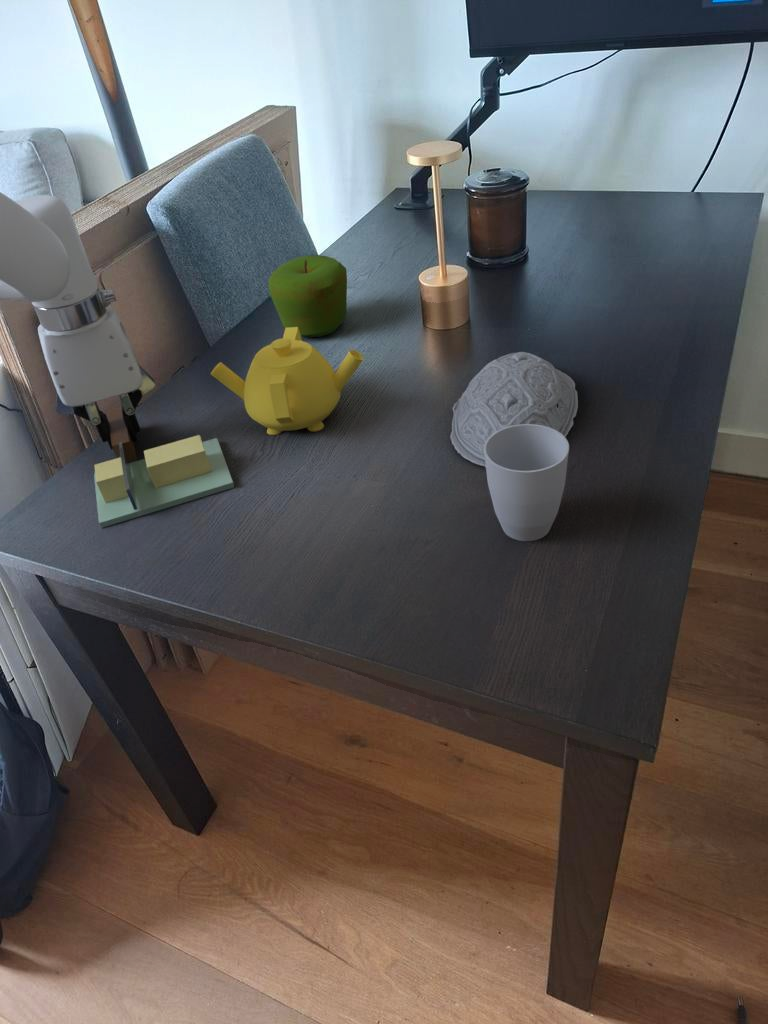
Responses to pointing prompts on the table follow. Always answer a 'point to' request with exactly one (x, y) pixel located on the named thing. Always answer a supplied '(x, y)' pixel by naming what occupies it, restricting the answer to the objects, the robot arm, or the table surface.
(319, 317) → the apple
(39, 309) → the robot arm
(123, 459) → the knife
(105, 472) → the block
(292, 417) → the teapot
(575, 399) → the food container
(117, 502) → the butter dish
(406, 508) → the table surface
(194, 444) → the butter block
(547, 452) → the cup
